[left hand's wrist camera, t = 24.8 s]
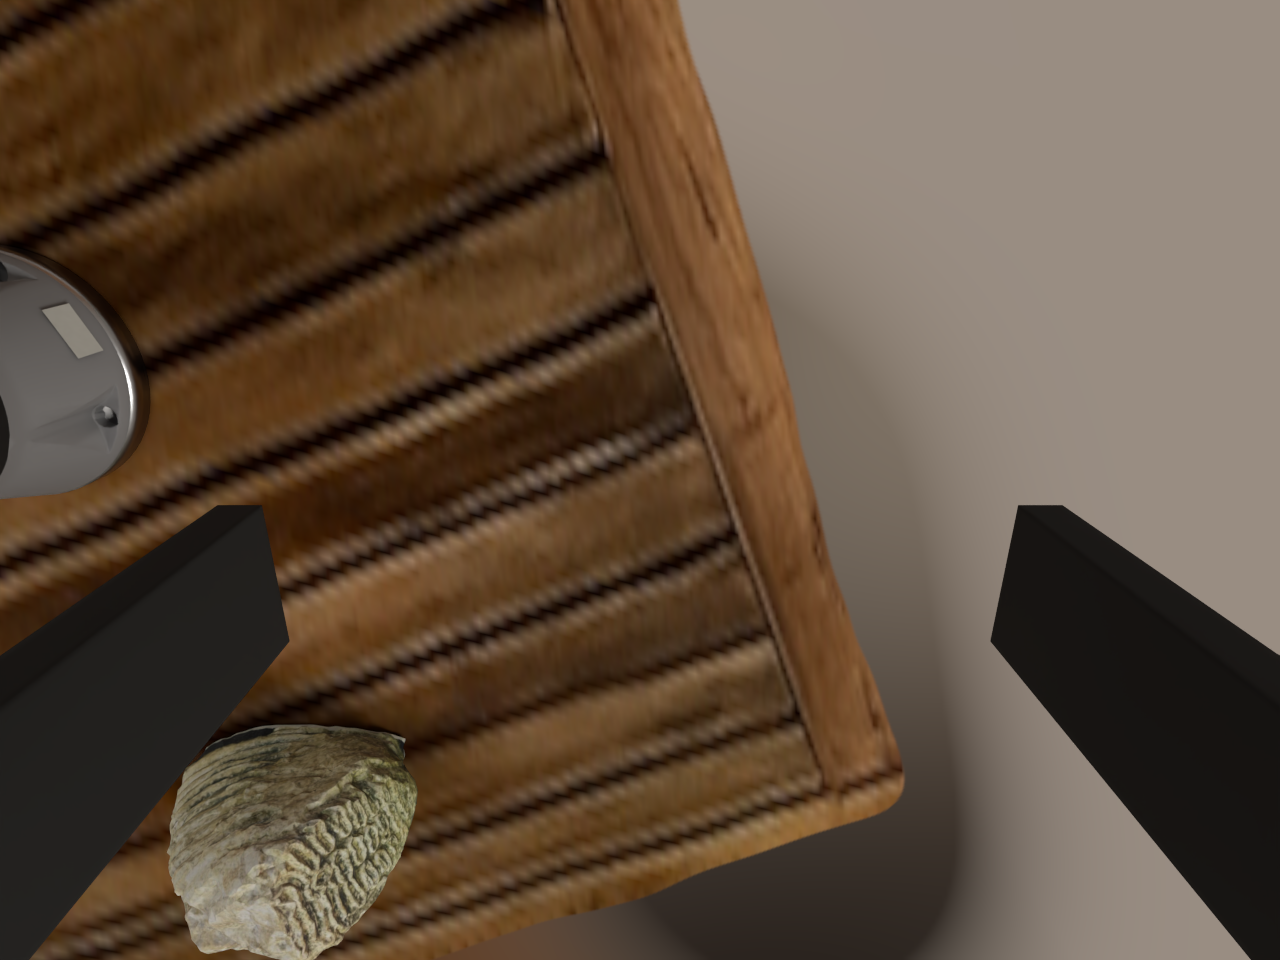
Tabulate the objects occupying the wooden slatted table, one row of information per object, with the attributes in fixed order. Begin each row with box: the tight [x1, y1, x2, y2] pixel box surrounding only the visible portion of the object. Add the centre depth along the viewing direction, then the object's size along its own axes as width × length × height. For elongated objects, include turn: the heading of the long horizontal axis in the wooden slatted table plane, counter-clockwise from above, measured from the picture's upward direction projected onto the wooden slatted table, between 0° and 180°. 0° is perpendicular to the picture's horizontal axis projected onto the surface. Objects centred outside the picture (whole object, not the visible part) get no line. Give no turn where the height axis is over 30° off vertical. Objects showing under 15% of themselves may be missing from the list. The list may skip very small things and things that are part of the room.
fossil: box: [167, 724, 418, 960], centre depth 48 cm, size 9×18×15 cm, turn 106°
